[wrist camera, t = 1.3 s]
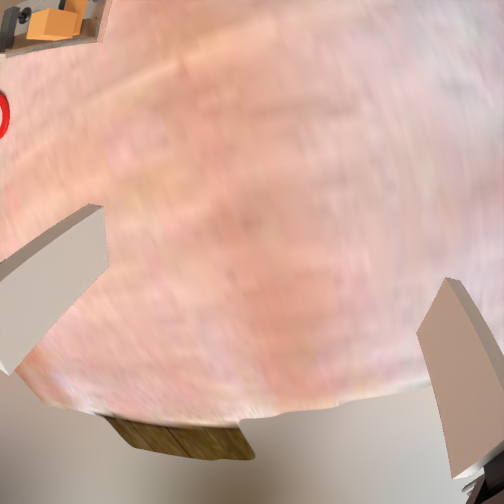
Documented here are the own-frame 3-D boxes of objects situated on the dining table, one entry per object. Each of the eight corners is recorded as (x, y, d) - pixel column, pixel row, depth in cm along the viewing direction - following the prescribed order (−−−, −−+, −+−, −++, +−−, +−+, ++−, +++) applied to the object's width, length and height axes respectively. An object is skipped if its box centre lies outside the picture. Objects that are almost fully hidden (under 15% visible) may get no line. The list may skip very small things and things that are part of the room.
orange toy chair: (83, -9, 23) (41, -20, 16) (101, -12, 23) (60, -27, 16) (71, 42, 27) (26, 39, 19) (89, 39, 27) (43, 34, 19)
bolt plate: (22, 4, 25) (8, 3, 22) (118, -23, 23) (105, -29, 21) (10, 58, 29) (-4, 59, 27) (101, 43, 28) (87, 41, 25)
